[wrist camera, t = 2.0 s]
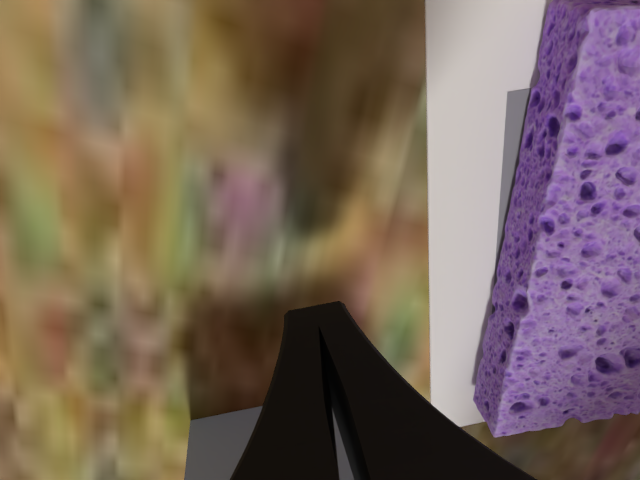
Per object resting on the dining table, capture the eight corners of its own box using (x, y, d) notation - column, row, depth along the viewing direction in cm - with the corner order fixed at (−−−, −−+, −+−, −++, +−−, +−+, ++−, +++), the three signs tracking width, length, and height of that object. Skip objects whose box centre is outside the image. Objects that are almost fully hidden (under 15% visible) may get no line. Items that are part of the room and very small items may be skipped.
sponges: (467, 394, 17) (490, 439, 15) (545, -11, 11) (599, -7, 9) (650, 371, 18) (691, 412, 16) (821, -18, 12) (916, -15, 10)
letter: (711, 371, 19) (714, 374, 18) (430, 430, 18) (431, 432, 18) (900, -109, 11) (906, -110, 11) (423, -39, 10) (425, -38, 10)
